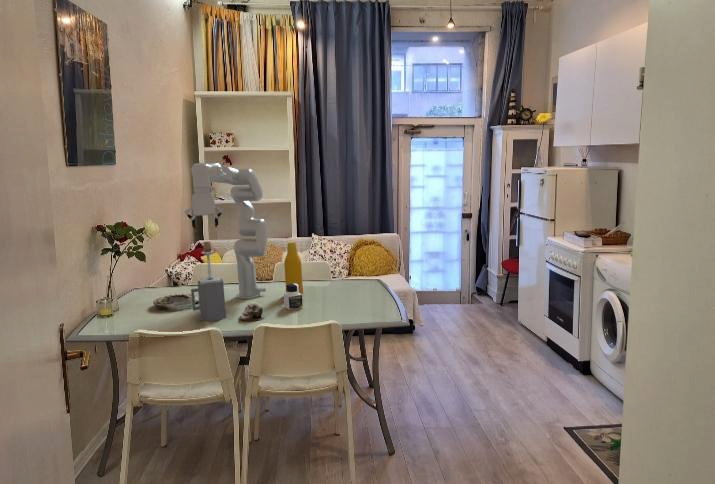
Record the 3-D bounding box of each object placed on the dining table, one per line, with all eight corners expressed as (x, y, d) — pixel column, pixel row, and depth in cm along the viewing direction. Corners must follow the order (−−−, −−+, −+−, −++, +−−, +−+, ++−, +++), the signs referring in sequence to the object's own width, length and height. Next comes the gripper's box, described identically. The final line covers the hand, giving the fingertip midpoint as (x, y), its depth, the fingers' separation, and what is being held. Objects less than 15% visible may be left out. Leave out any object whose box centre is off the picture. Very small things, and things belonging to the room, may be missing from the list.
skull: (243, 321, 252) (238, 302, 256) (241, 331, 260) (235, 312, 265) (268, 316, 257) (263, 297, 261) (265, 326, 265) (260, 307, 270)
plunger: (219, 287, 266) (215, 240, 262) (220, 291, 258) (216, 242, 254) (201, 289, 264) (197, 241, 260) (202, 293, 256) (197, 244, 252)
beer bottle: (298, 297, 293) (295, 244, 288) (283, 296, 296) (279, 243, 291) (306, 293, 302) (303, 241, 297) (290, 292, 305) (287, 240, 300)
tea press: (225, 313, 270) (221, 275, 267) (226, 319, 259) (223, 280, 256) (193, 316, 266) (190, 278, 263) (193, 323, 255) (190, 283, 252)
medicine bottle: (289, 310, 270) (288, 286, 268) (284, 307, 276) (282, 283, 274) (303, 308, 273) (301, 284, 271) (297, 304, 280) (296, 281, 278)
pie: (167, 317, 268) (165, 307, 267) (136, 310, 284) (135, 300, 284) (213, 303, 290) (212, 294, 289) (182, 297, 306) (181, 288, 306)
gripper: (221, 189, 259) (224, 225, 262) (183, 191, 255) (186, 228, 257) (222, 190, 252) (225, 227, 255) (182, 192, 247) (186, 230, 250)
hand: (205, 227), depth 256 cm, fingers open, 9 cm apart
